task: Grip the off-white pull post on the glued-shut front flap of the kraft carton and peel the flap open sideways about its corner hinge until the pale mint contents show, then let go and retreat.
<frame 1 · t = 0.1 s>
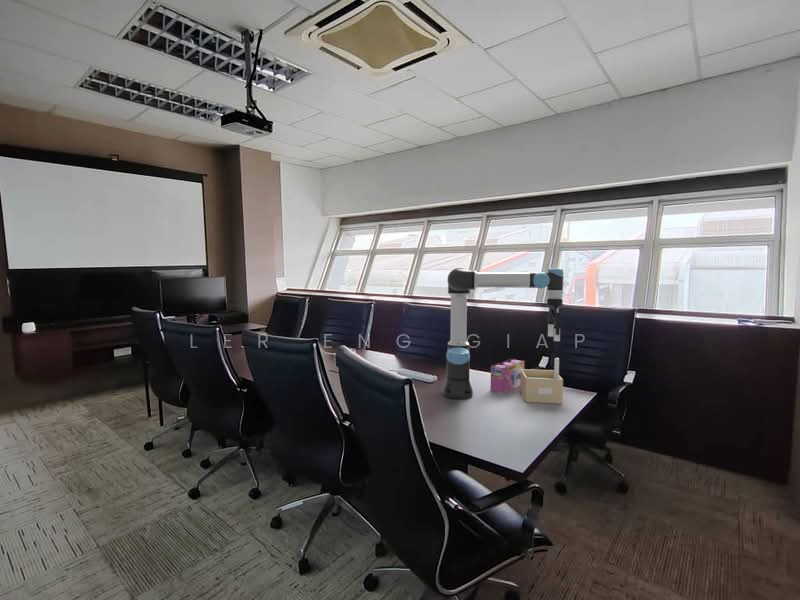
hand: (553, 338, 206), 28 cm above the table, fingers open, 13 cm apart
gum box: (507, 387, 215), on the table
front flap: (544, 380, 189), point 11 cm above the table, hinge at 0.0°
carton: (540, 397, 198), on the table
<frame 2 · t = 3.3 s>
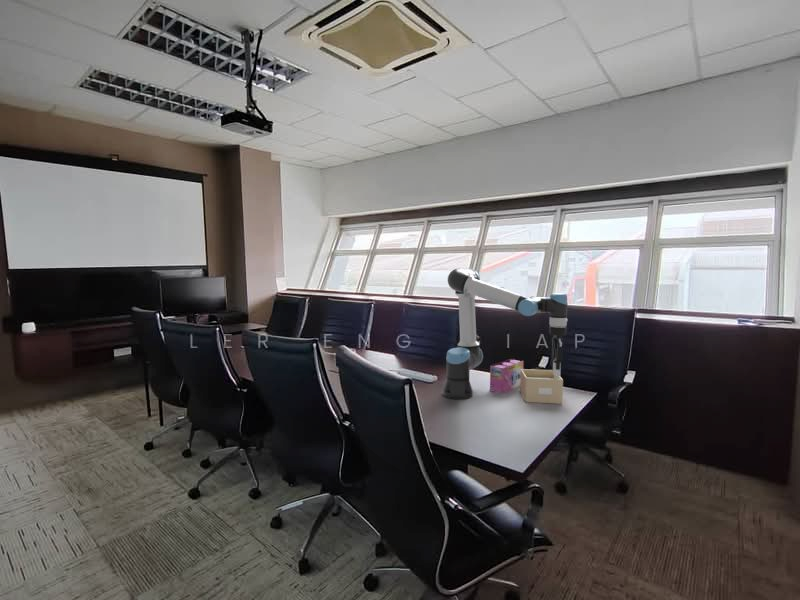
hand: (556, 375, 188), 14 cm above the table, fingers closed on front flap, 2 cm apart
front flap: (544, 380, 189), point 11 cm above the table, hinge at 0.0°, touching gripper
everything else where it was.
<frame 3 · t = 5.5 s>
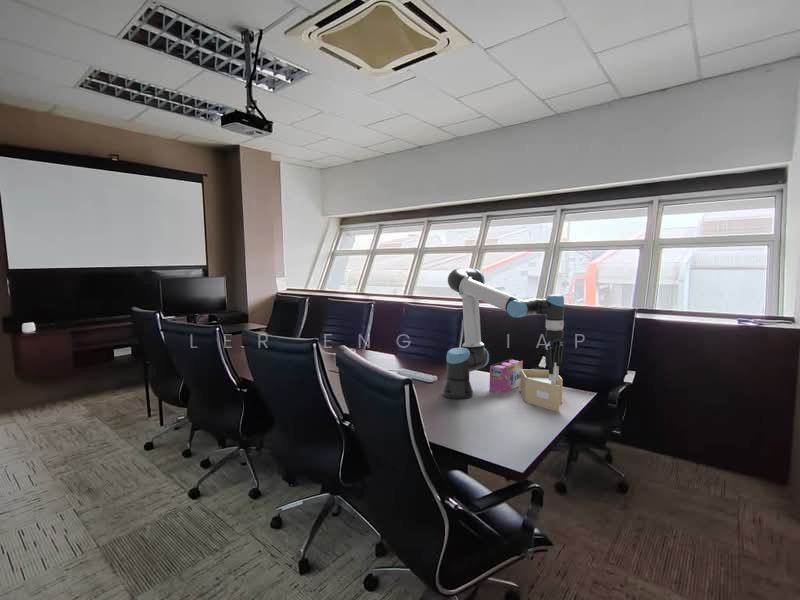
hand: (553, 380, 180), 14 cm above the table, fingers closed on front flap, 2 cm apart
front flap: (542, 383, 184), point 11 cm above the table, hinge at 40.5°, touching gripper
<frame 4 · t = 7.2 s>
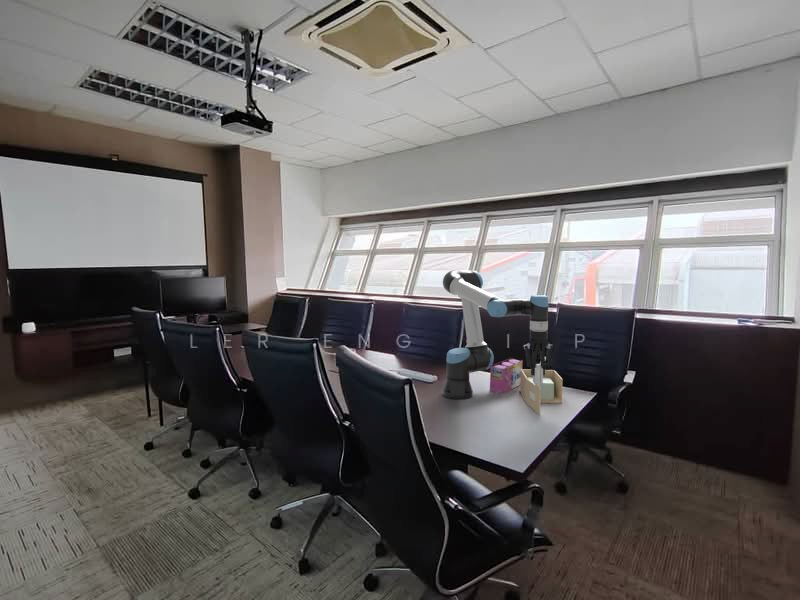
hand: (537, 382, 176), 14 cm above the table, fingers closed on front flap, 2 cm apart
gum box: (506, 387, 214), on the table, touching arm
front flap: (532, 385, 182), point 11 cm above the table, hinge at 78.0°, touching gripper
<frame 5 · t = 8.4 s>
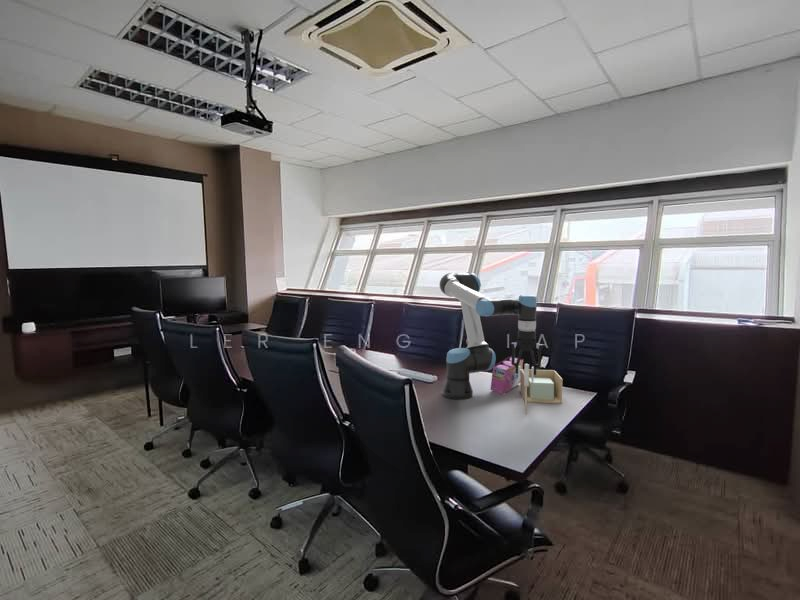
hand: (525, 381, 177), 14 cm above the table, fingers open, 5 cm apart
gum box: (506, 386, 214), point 1 cm above the table, touching arm
front flap: (526, 384, 182), point 11 cm above the table, hinge at 98.2°
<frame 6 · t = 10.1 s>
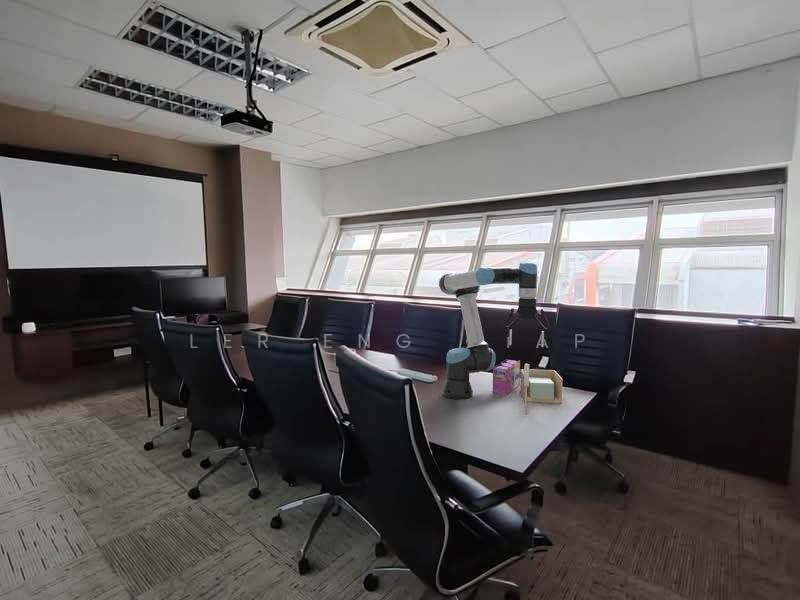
hand: (526, 345, 176), 31 cm above the table, fingers open, 13 cm apart
gum box: (506, 388, 213), on the table
everything else where it was.
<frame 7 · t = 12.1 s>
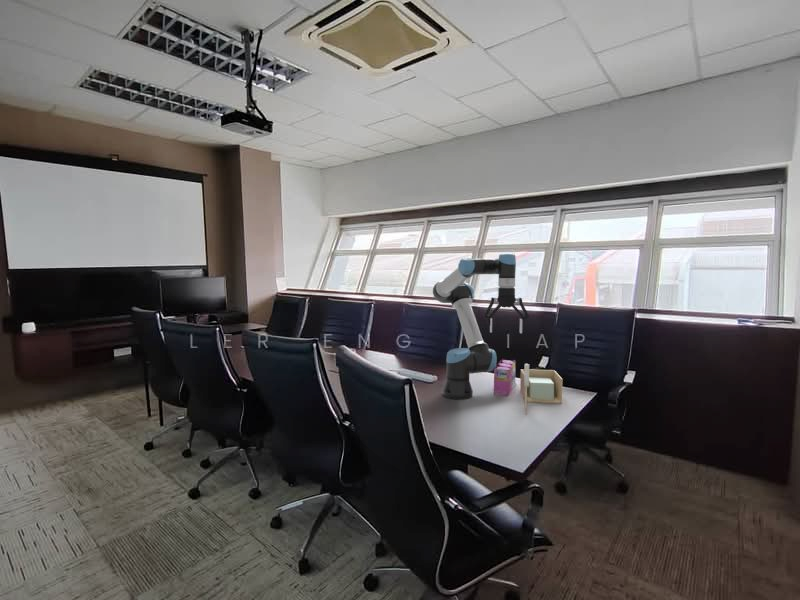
hand: (505, 332, 185), 35 cm above the table, fingers open, 13 cm apart
gum box: (504, 389, 213), on the table
everything else where it was.
at the end: front flap at +98° (first picture: +0°); the gripper is holding nothing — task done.
